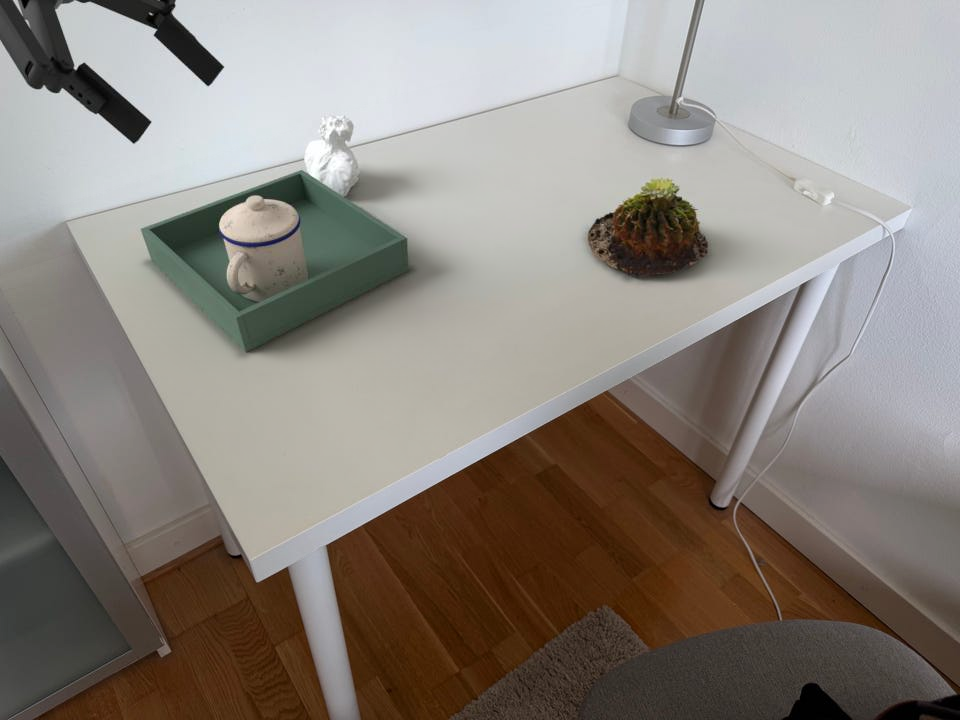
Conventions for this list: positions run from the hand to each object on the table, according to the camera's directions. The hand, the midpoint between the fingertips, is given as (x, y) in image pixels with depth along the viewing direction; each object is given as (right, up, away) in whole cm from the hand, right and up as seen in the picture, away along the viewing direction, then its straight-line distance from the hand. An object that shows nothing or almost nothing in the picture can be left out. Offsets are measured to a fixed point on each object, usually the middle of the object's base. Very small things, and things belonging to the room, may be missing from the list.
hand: (182, 103), depth 65 cm
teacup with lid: (+2, -16, +19) cm, 25 cm away
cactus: (+51, -9, +30) cm, 60 cm away
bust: (+6, +3, +40) cm, 41 cm away
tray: (+2, -12, +24) cm, 27 cm away
